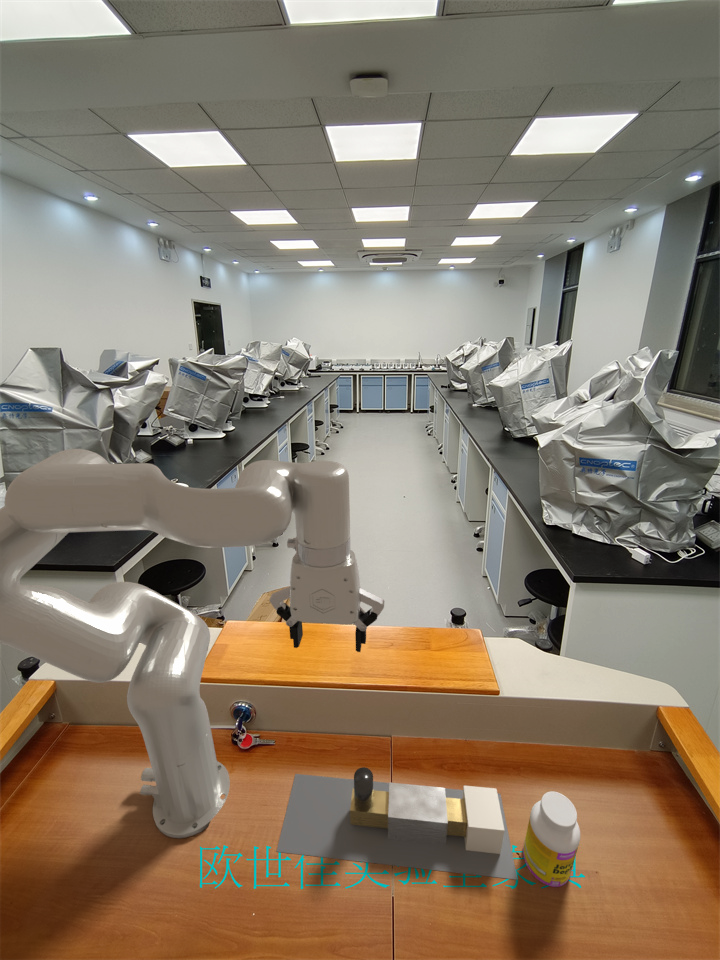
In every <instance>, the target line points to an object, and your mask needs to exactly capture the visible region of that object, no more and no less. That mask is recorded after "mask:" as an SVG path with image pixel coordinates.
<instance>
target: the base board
mask: <svg viewBox="0 0 720 960" xmlns="http://www.w3.org/2000/svg"><path fill="white" fill-rule="evenodd" d="M353 788H354V778H353V779H351V778H343V777H342V778H341V777H335V776H334V777H332V776H331V777H330V776H323V775H311V774H302V773H295V774H294V779H293V782H292V787H291V791H290V793H289V794H290V795H289V799H288V803H287V808H286V811H285V816H284V820H283V822H282V823H283V824H282V827H281V830H280V834H279V840H278V842H277V843H278V844H277V847H276V853H285V854H293V855H301V856H310V857H317V858H327V859H336V860H342V861H343V860H344V861H352V862H362V863H370V864H371V863H372V864H377V865H378V864H379V865H387V866H395V867H397V866H398V867H404V868H412V869H419V870H420V869H422V870H430V871H438V872H440V871H441V872H446V873H457V874H464V875H471V876H473V875H474V876H481V877H488V878H490V877H491V878H498V879H507V880H515V881H518V876H517V870H516V865H515V861H514V857H513V850H512V845H511V840H510V835H509V830H508V825H507V820H506V819H507V818H506V816H505V810H504V805H503V799H502V796H501V793H500V792H499V793H498V792H497V794H498V799H499V804H500V809H501V815H502V820H503V825H504V830H505V831H504V836H503V842H502V848H501V854H496V853H487V852H478V851H469V850H466V848H465V839H464V837H462V836H453V835H447V837H446V845H441V844H432V843H423V842H414V841H405V840H396V839H388V828H379V827H369V826H360V825H351V823H350V807H351V798H352V790H353ZM444 788H445V795H446V798H456V799H462V795H463V789H454V788H447V787H444ZM373 790H376V791H386V792H389V782H384V781H374V780H373Z"/></svg>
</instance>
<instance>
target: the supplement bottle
mask: <svg viewBox="0 0 720 960" xmlns="http://www.w3.org/2000/svg"><path fill="white" fill-rule="evenodd" d="M530 810H531V811H530V814H529V820H528V824H527V828H526V833H525V838H524V843H523V848H522V852H523V853H522V854H523V859H524V861H525V864H526V867H527V868H528V869H529V871H530V873H531V874H532V876H534V877H535V879H537V880H538V881H540V882H541V883H542V884H544V885H547V886H549V887H553V888H558V887H562V886H564V885H566V884H567V883H568V881H569V879H570V877H571V874H572V871H573V866H574V863H575V859H576V856H577V853H578V848H579V846H580V843H581V842H580V841H581V828H580V826H579V824H578V821H577V820H578V813H577V809H576V806H575V805H574V803H573V802H572V801H571V800H570V799H569V798H568V797H567V796H565V795H564V794H562V793H560V792H557V791H548V792H545V793H544V794H543V795H542V797H541V800H539V801H537V802H536V803H534V804H533V806H532V808H531V809H530Z"/></svg>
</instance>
